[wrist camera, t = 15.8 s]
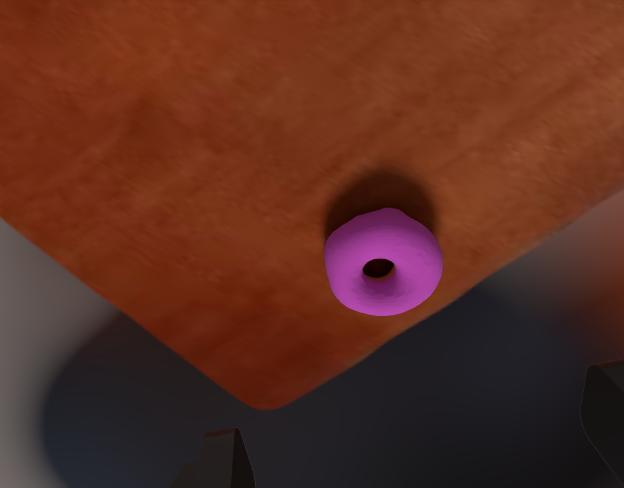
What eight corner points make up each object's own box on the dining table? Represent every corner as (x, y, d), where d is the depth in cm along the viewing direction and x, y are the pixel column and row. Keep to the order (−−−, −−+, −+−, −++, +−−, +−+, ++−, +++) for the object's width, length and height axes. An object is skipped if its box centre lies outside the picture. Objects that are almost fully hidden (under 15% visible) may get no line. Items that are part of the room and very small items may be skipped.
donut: (311, 219, 41) (316, 242, 37) (422, 187, 41) (439, 207, 37) (339, 310, 46) (346, 340, 42) (439, 282, 46) (455, 309, 42)
